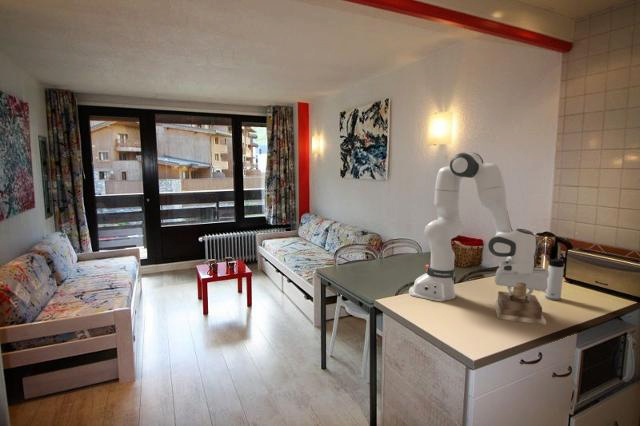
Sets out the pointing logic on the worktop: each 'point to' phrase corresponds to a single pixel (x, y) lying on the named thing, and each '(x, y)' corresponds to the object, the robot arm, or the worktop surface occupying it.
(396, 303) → the worktop surface
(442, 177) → the robot arm
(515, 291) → the oak peg
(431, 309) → the worktop surface
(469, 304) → the worktop surface
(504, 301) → the socket board
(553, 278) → the travel mug
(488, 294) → the worktop surface
